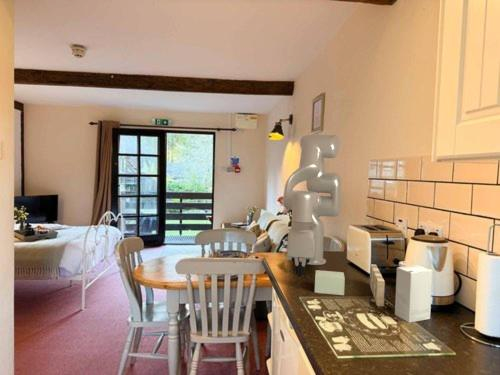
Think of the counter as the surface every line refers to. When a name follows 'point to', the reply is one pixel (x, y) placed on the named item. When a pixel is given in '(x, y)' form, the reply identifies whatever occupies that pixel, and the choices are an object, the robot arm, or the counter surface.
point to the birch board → (377, 285)
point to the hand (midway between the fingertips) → (300, 276)
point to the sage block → (329, 282)
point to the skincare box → (413, 293)
